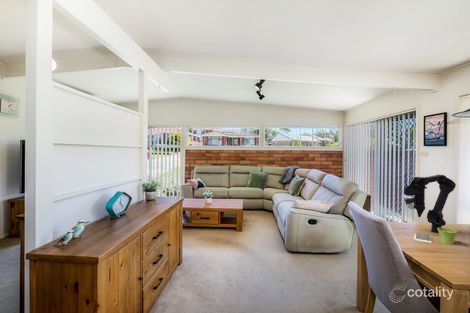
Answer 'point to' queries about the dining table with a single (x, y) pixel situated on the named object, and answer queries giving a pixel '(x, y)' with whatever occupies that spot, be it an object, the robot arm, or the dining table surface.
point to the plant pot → (446, 235)
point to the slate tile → (422, 237)
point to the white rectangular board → (422, 240)
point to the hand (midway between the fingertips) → (419, 217)
